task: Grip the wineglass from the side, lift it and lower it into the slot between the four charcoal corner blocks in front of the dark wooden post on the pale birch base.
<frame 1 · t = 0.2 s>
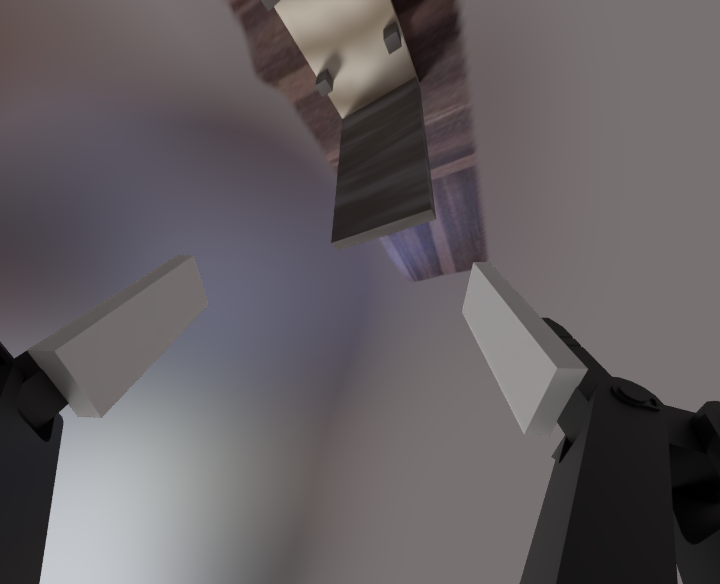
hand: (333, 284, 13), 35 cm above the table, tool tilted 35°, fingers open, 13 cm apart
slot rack: (335, 6, 30), on the table
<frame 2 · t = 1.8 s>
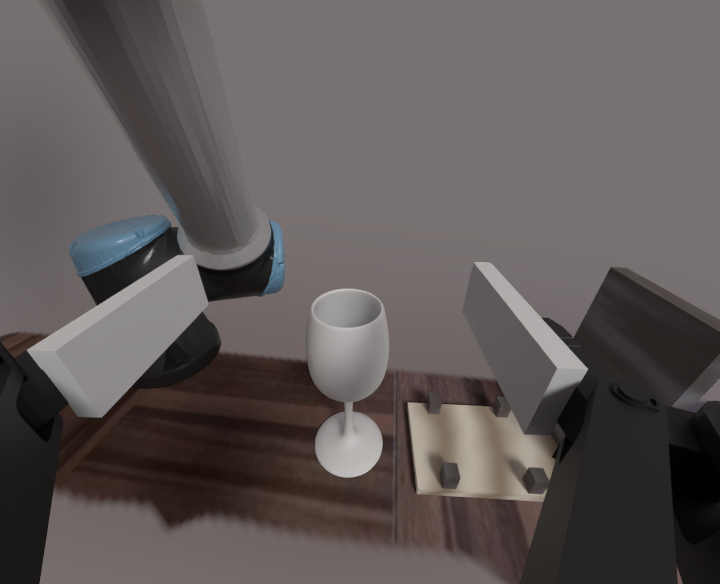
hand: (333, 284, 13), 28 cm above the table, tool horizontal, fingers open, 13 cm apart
wineglass: (348, 442, 36), on the table
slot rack: (474, 448, 35), on the table
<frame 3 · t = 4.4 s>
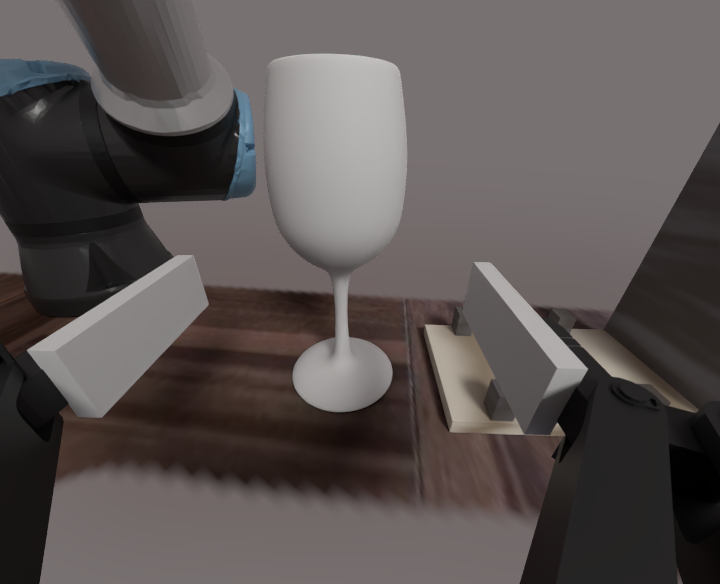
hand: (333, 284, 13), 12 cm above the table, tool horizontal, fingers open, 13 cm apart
wineglass: (343, 372, 25), on the table
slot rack: (526, 376, 24), on the table
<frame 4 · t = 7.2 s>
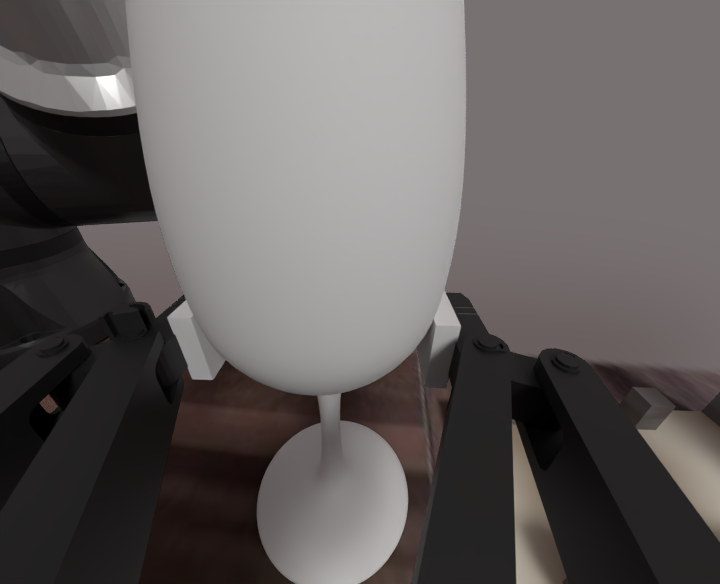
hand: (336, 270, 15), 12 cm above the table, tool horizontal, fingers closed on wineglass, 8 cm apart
wineglass: (334, 489, 17), on the table, touching gripper
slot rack: (608, 500, 16), on the table
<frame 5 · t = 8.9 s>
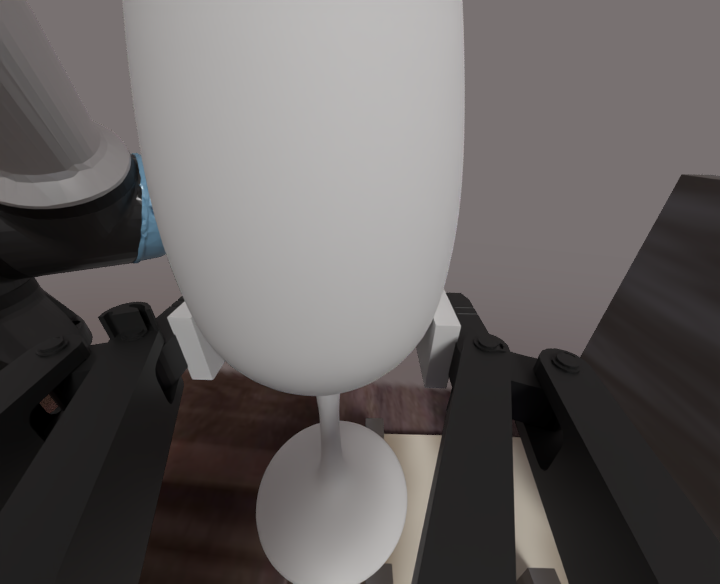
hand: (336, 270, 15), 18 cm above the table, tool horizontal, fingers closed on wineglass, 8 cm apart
wineglass: (333, 490, 17), point 6 cm above the table, touching gripper
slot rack: (435, 513, 21), on the table
when the fingers open (14 cm above the table, at t = 10.8 s): wineglass moves 2 cm, resting on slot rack.
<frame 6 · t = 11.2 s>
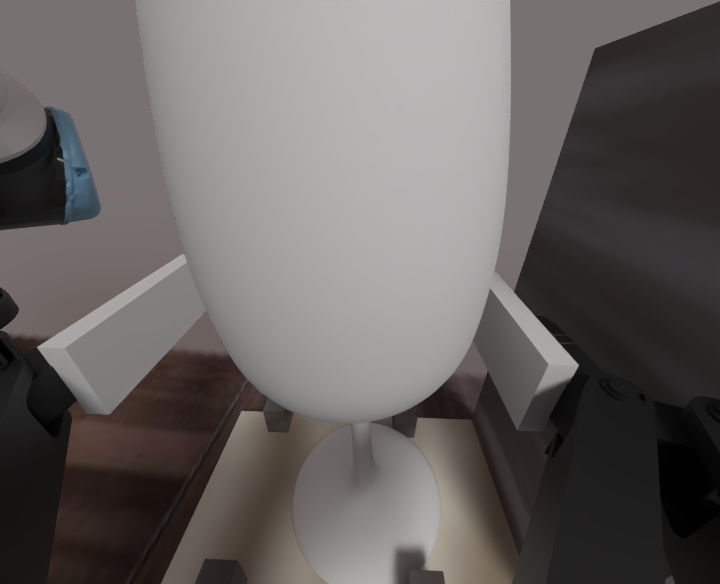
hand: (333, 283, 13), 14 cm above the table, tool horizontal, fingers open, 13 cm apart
wineglass: (365, 493, 17), point 1 cm above the table, touching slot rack
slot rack: (335, 503, 18), on the table
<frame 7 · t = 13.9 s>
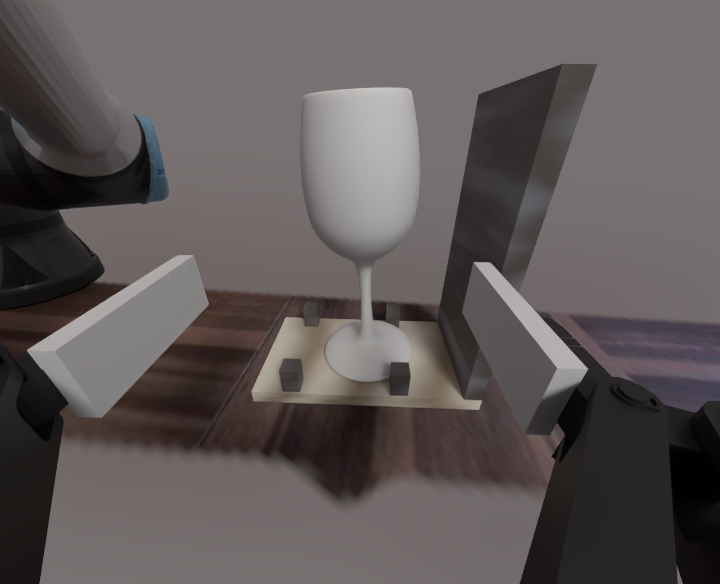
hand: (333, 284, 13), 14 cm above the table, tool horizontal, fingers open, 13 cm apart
wineglass: (368, 349, 28), point 1 cm above the table, touching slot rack
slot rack: (349, 359, 29), on the table
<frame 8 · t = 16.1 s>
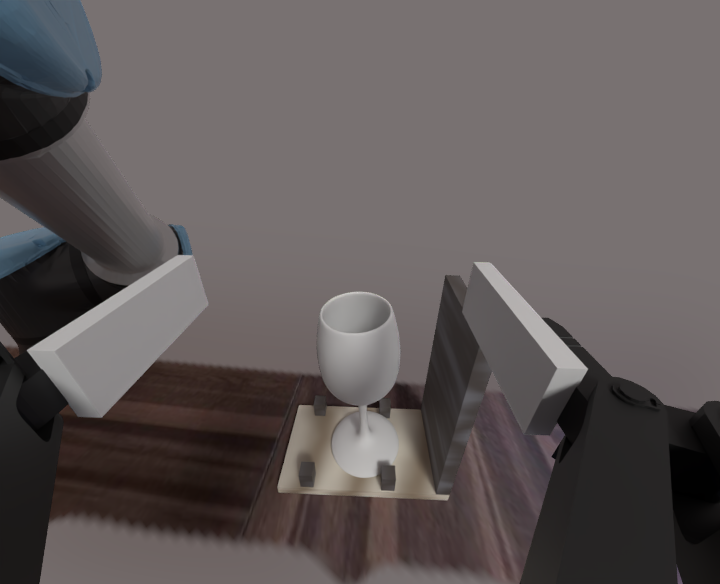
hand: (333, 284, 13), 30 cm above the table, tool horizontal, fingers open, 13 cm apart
wineglass: (365, 442, 36), point 1 cm above the table, touching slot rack
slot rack: (350, 448, 37), on the table
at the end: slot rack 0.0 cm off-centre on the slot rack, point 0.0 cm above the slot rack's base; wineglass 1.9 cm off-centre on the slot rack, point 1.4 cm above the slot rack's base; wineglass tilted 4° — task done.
